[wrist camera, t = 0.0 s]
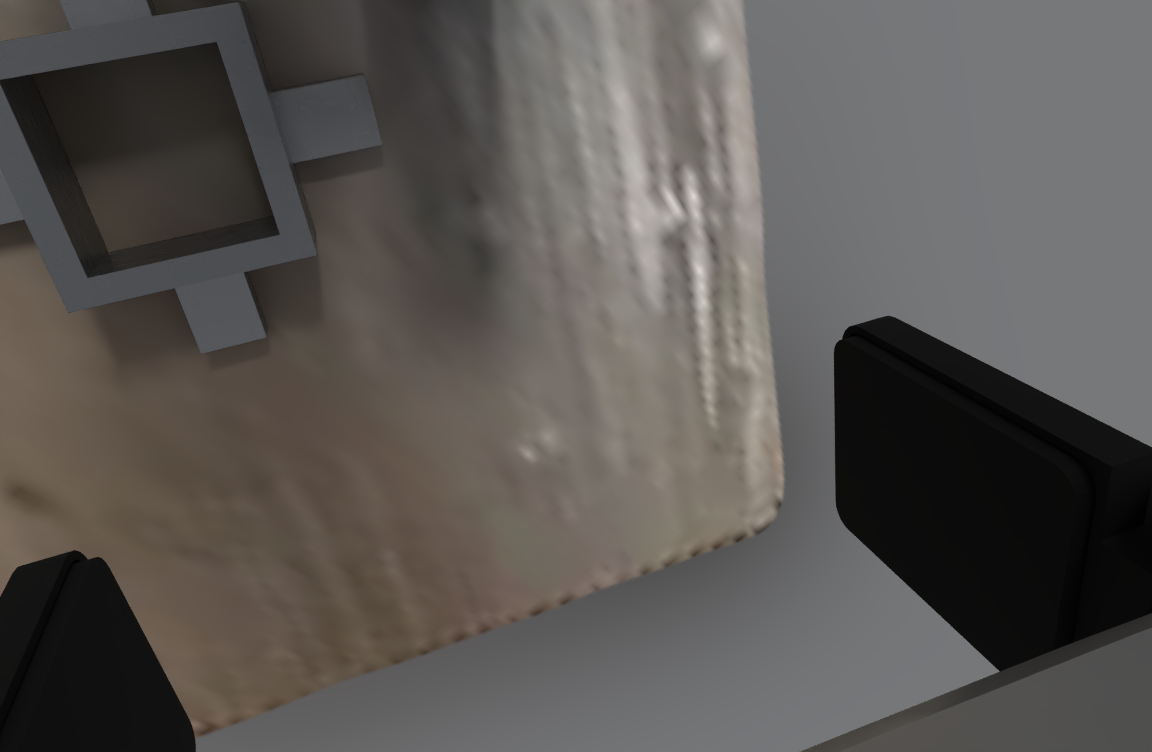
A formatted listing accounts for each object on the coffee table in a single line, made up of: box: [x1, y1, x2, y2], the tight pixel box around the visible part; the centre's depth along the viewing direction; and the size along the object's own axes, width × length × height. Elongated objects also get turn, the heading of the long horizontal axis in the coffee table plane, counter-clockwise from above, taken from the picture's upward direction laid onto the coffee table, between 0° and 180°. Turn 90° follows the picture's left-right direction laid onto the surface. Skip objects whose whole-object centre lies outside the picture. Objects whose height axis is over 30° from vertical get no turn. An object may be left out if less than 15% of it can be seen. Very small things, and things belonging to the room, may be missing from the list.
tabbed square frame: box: [0, 0, 383, 354], centre depth 33 cm, size 18×18×4 cm
